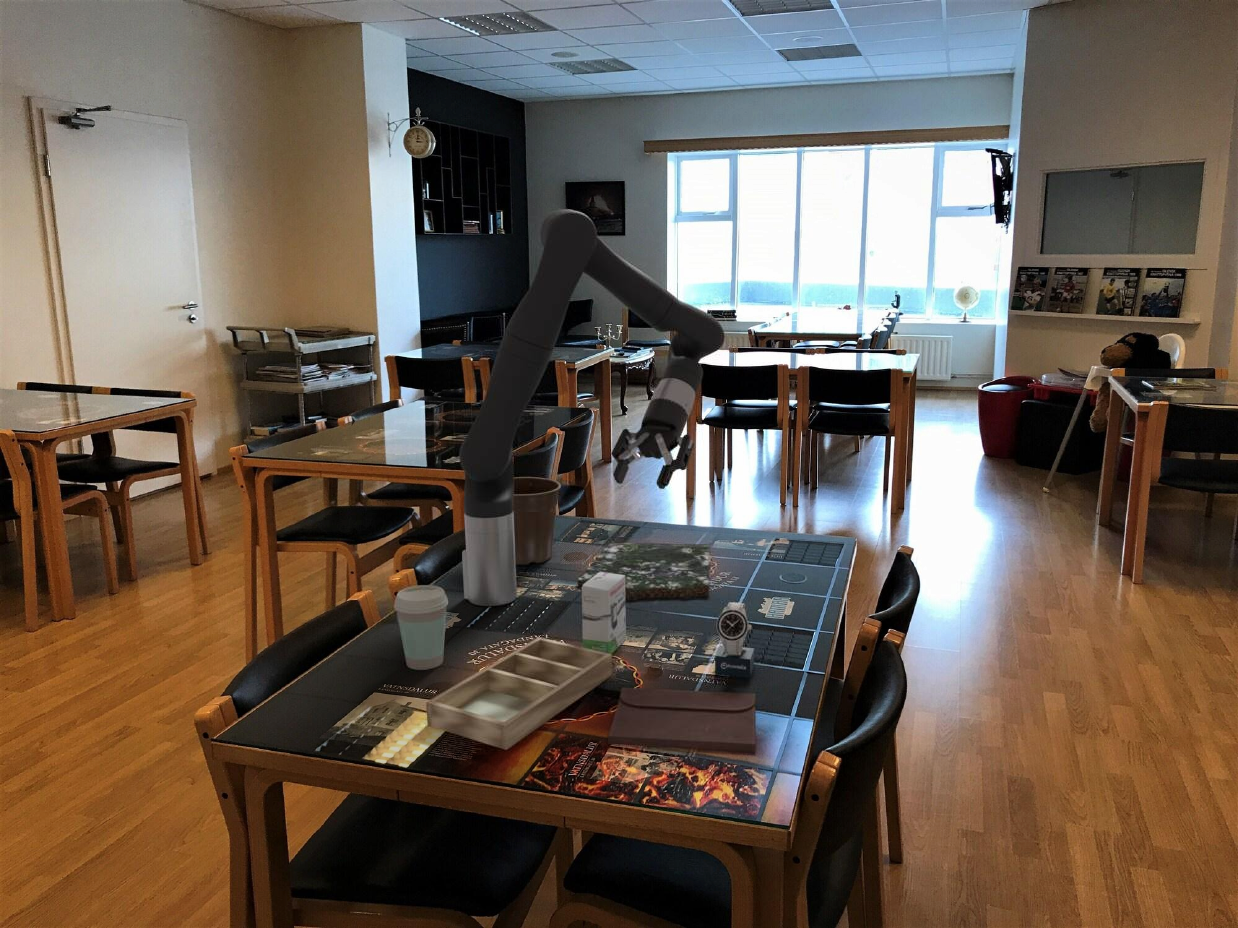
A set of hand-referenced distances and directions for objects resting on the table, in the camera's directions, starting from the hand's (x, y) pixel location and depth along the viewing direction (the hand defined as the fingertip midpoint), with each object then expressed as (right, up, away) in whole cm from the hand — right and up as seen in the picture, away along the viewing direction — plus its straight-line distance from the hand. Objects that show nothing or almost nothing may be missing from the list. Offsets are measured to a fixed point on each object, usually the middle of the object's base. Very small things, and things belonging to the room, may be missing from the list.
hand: (638, 483), depth 171 cm
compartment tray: (-18, -32, -25) cm, 44 cm away
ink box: (-6, -27, -6) cm, 29 cm away
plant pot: (-24, -17, +42) cm, 51 cm away
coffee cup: (-35, -29, -11) cm, 47 cm away
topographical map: (+2, -20, +32) cm, 37 cm away
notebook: (+6, -34, -32) cm, 47 cm away
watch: (+15, -29, -16) cm, 37 cm away
